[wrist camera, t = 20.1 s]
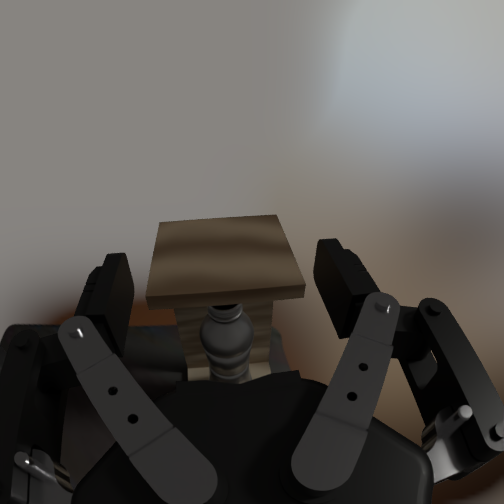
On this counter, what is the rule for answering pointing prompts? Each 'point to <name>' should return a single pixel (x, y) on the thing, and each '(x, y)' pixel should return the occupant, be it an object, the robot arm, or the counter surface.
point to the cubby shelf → (222, 279)
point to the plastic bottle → (227, 343)
